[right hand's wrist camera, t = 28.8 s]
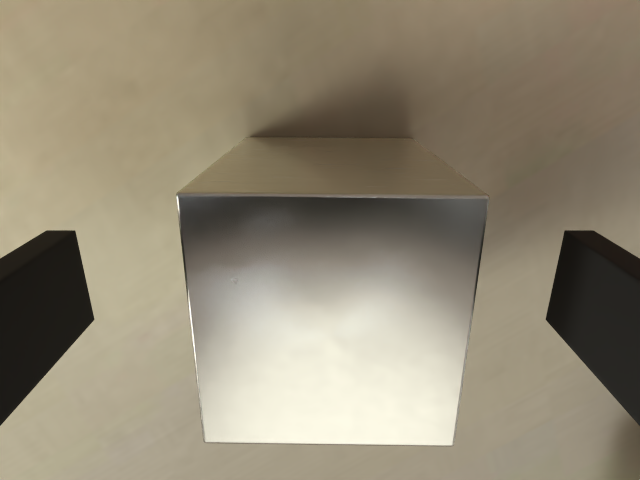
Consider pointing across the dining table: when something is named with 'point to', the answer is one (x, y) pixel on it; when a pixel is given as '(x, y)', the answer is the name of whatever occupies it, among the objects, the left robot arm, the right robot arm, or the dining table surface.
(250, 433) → the grey block
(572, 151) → the dining table surface
